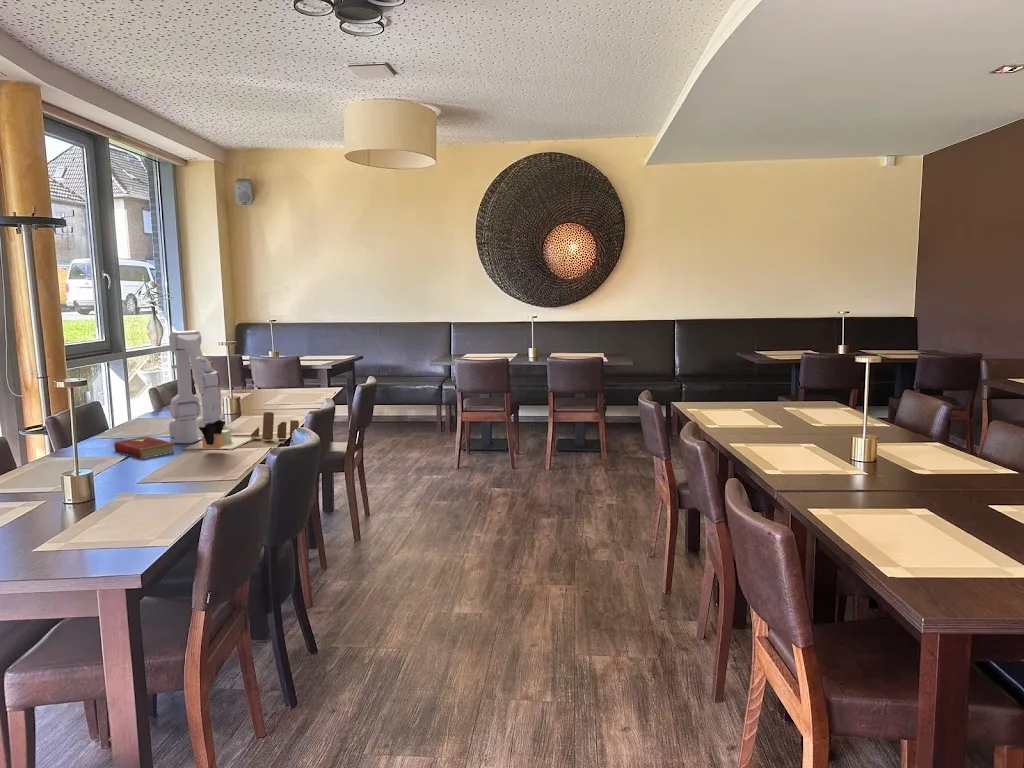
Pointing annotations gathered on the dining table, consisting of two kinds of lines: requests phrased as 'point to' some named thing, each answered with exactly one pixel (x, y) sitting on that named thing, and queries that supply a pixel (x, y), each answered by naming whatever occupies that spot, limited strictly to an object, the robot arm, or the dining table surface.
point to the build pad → (231, 445)
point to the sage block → (227, 436)
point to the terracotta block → (217, 441)
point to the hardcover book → (144, 447)
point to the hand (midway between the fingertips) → (213, 442)
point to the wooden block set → (268, 427)
